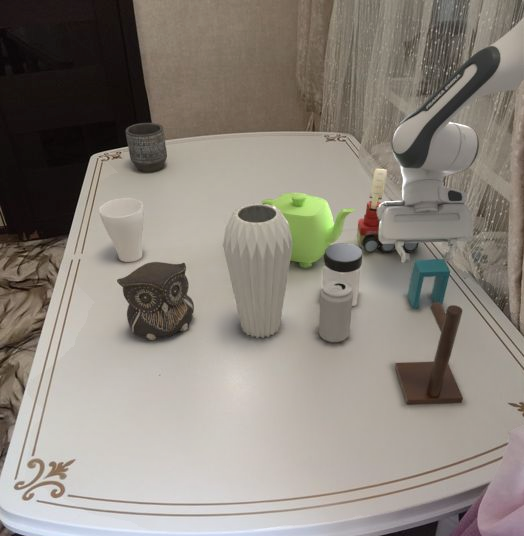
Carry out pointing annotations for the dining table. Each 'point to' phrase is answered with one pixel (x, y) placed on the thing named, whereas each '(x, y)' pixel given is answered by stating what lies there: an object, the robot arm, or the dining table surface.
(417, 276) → the clip
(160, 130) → the planter
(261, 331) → the vase
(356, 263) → the jar
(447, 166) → the robot arm
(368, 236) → the toy fire truck
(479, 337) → the dining table surface
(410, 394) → the peg stand
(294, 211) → the teapot
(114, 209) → the cup
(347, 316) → the beverage can
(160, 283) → the figurine
